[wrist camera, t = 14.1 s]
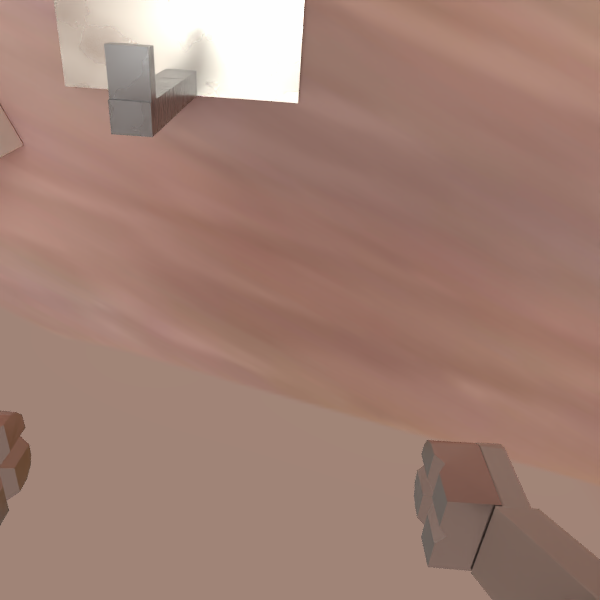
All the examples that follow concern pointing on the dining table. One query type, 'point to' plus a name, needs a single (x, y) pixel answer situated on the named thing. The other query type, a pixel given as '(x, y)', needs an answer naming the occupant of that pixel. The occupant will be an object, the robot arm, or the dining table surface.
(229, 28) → the twin post base plate
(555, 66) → the dining table surface
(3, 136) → the milk
